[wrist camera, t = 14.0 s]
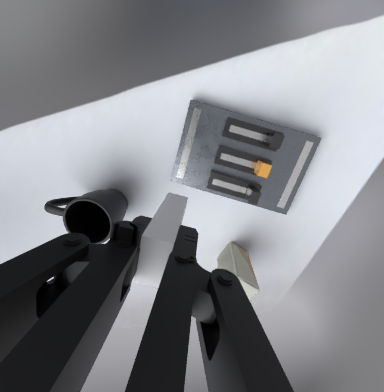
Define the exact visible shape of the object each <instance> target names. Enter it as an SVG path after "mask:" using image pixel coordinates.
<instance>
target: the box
mask: <svg viewBox="0 0 384 392" xmlns="http://www.w3.org/2000/svg"><path fill="white" fill-rule="evenodd" d="M217 261H218V269H226V270H228V271H230V272H232V273H233V274H235V275H236V276H237V278H238V279H239V280H240V282H241V284H242V287H243V289H244V291H245V293H246V295H247V297H248V299H249V301H251V299H252V298H253V297H254V296H255V295H256V294H257V293H258V292H259V290H260V289H259V286H258V283H257V280H256V277H255V274H254V271H253V268H252V265H251V262H250V259H249V256H248V253H247V252H246V251H245V250H243V249H242V248H240V247H239V246H237V245H236V244H234V243H232V242H230V243H229V244H228V245H227V247H226V248H225V249H224V250H223V252H222V253H221V254H220V256H219V257H218V258H217Z"/></svg>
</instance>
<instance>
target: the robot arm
mask: <svg viewBox="0 0 384 392" xmlns="http://www.w3.org/2000/svg"><path fill="white" fill-rule="evenodd" d="M187 200H188V197H184V196H180V195H176V194H172V193H168V195H167V196H166V198H165V200H164V201H163V203H162V204H161V206H160V207H159V209H158V211H157V212H156V214H155V215H154V217H153V218H149V217H145V216H139V217H136V218H135V219H134V220H133V221H132V222H131V221H117V222H114V223H113V224H112V225H111V233H110V240H109V241H108V242H107V243H106V244H89V243H90V240H89V237H87V236H86V235H84V234H81V233H68V234H64V235H61V236H59V237H57V238H55V239H53V240H51V241H48V242H46V243H44V244H42V245H40V246H38V247H36V248H34V249H32V250H29V251H27V252H25V253H23V254H21V255H19V256H17V257H15V258H13V259H11V260H8V261H6V262H4V263H2V264H0V392H80V391H81V389H82V387H83V385H84V383H85V380H86V378H87V376H88V374H89V372H90V370H91V368H92V366H93V364H94V362H95V360H96V358H97V356H98V354H99V352H100V350H101V348H102V346H103V343H104V342H105V340H106V338H107V336H108V334H109V332H110V330H111V327H112V325H113V323H114V321H115V319H116V317H117V315H118V313H119V311H120V309H121V307H122V305H123V303H124V301H125V299H126V297H127V295H128V293H129V291H130V286H131V281H132V279H133V277H134V283H138V284H142V285H146V286H150V287H154V288H158V291H157V294H156V297H155V300H154V303H153V306H152V310H151V313H150V316H149V319H148V322H147V325H146V328H145V331H144V334H143V337H142V341H141V344H140V347H139V350H138V353H137V356H136V359H135V362H134V365H133V368H132V371H131V374H130V377H129V380H128V384H127V387H126V390H125V392H184V384H185V373H186V364H187V354H188V345H189V334H190V325H191V316H193V317H195V318H196V324H197V330H198V335H199V341H200V347H201V352H202V358H203V363H204V369H205V374H206V380H207V385H208V391H209V392H294V391H293V389H292V387H291V385H290V383H289V381H288V379H287V377H286V375H285V373H284V371H283V368H282V366H281V364H280V363H279V360H278V358H277V356H276V354H275V352H274V350H273V348H272V346H271V344H270V342H269V340H268V338H267V336H266V334H265V332H264V330H263V328H262V325H261V323H260V321H259V319H258V318H257V315H256V313H255V311H254V309H253V307H252V305H251V303H250V301H249V299H248V297H247V295H246V293H245V291H244V289H243V287H242V284H241V282H240V280H239V279H238V278H237V276H236V275H235V274H233V273H232V272H230V271H228V270H226V269H215V270H213V271H212V272H211V273H210V272H208V271H206V270H205V269H203V268H202V267H201V266H199V264H198V263H197V260H196V250H197V240H198V232H197V231H196V229H194V228H191V227H187V226H183V225H181V224H182V220H183V216H184V212H185V208H186V204H187ZM134 275H135V276H134ZM53 276H54V279H52V280H51V281H48V282H47V280H49V279H50V278H52V277H53Z"/></svg>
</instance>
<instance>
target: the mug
mask: <svg viewBox="0 0 384 392" xmlns="http://www.w3.org/2000/svg"><path fill="white" fill-rule="evenodd" d="M62 205H67V206H66V208H60V207H57V206H62ZM44 208H45V210H46V211H47V212H49V213H51V214H55V215H59V216H63V222H64V226H65V228H66V230H67V231H68V233H81V234H84V235H86V236H87V237H89V240H90V243H89V244H101V243H104V242H105V241H107V240H108V239H109V238H110V233H111V225H112V224H113V223H114V222H117V221H123V218H124V216H125V213H126V209H127V200H126V198H125V196H124V195H123V194H122V193H121V192H119V191H117V190H98V191H93V192H89V193H86V194H84V195H82V196H79V197H68V198H60V199H54V200H51V201H48V202H47V203H46V204H45V207H44Z"/></svg>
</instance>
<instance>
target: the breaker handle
mask: <svg viewBox="0 0 384 392" xmlns="http://www.w3.org/2000/svg"><path fill="white" fill-rule="evenodd" d="M271 167H272V165H270V164H268V163H266V162H263V161H259V160H258V161H257V164H256V167H255V169H254V173H255V174H256V175H257V176H260V177H264V178H267V177H268V175H269V172H270V170H271Z"/></svg>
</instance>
